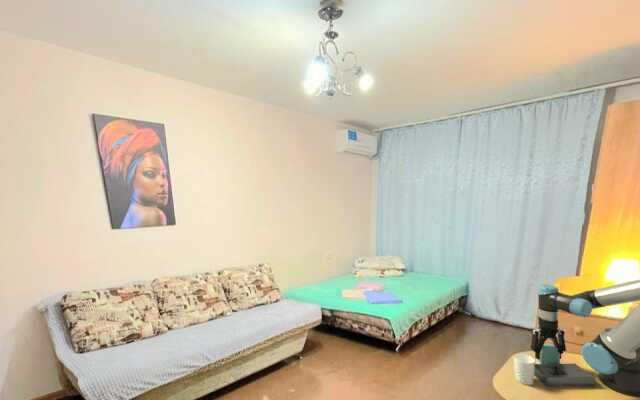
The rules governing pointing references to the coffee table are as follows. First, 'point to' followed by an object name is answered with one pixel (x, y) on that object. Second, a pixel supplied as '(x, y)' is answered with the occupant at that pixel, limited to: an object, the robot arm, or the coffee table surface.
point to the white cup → (524, 368)
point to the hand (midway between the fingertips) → (548, 365)
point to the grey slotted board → (563, 375)
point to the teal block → (549, 354)
